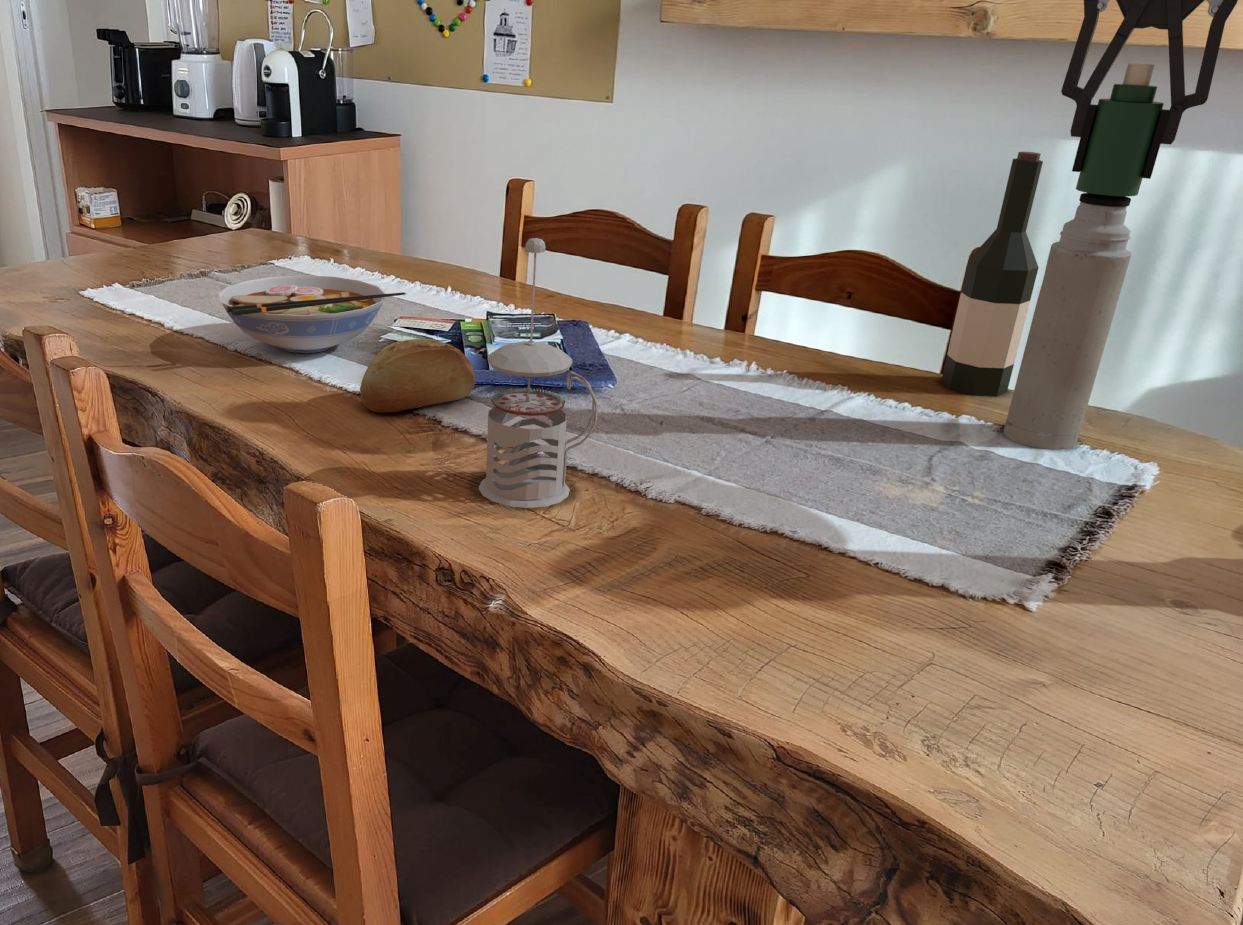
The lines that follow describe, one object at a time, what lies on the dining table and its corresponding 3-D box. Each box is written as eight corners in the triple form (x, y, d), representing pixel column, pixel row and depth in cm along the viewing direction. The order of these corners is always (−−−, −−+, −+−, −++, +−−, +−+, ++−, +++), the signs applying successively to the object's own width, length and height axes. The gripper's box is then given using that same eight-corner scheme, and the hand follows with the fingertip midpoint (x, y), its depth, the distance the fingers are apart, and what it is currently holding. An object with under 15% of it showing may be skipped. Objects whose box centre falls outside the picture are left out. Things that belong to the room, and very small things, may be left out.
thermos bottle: (1004, 423, 133) (1065, 186, 120) (1075, 435, 130) (1145, 193, 117) (1001, 444, 126) (1065, 195, 113) (1076, 457, 123) (1150, 203, 111)
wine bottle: (942, 376, 150) (993, 146, 136) (1006, 385, 147) (1065, 152, 133) (938, 393, 143) (992, 153, 129) (1006, 403, 140) (1068, 159, 126)
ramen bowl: (353, 317, 166) (352, 263, 162) (422, 356, 149) (422, 297, 145) (192, 335, 154) (186, 278, 150) (247, 381, 136) (242, 317, 133)
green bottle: (1139, 191, 116) (1175, 64, 111) (1136, 198, 112) (1174, 66, 106) (1078, 185, 119) (1110, 61, 113) (1073, 191, 114) (1106, 62, 109)
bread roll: (493, 407, 131) (495, 342, 127) (384, 427, 123) (383, 359, 120) (452, 384, 138) (453, 323, 134) (346, 403, 130) (344, 338, 127)
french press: (473, 472, 113) (479, 226, 101) (583, 473, 113) (601, 229, 102) (477, 512, 104) (484, 247, 93) (596, 512, 105) (617, 250, 94)
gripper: (1069, -82, 105) (1010, 167, 116) (1299, -82, 97) (1214, 187, 107) (1076, -76, 111) (1020, 161, 121) (1293, -75, 103) (1213, 179, 113)
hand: (1111, 173), depth 114 cm, fingers closed on green bottle, 6 cm apart
